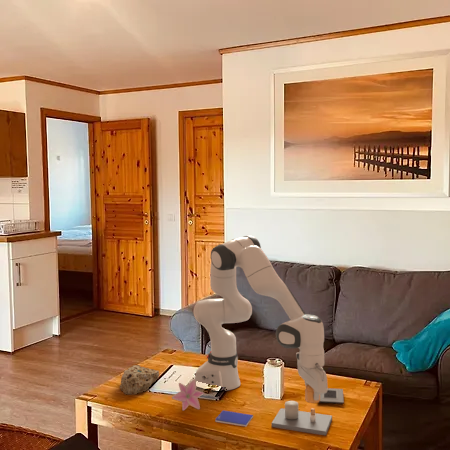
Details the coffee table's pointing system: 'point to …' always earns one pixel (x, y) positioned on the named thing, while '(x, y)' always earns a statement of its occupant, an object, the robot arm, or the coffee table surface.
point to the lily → (188, 395)
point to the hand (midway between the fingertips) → (312, 396)
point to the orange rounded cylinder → (310, 395)
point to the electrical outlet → (332, 396)
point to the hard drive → (234, 418)
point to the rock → (137, 379)
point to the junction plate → (301, 420)
